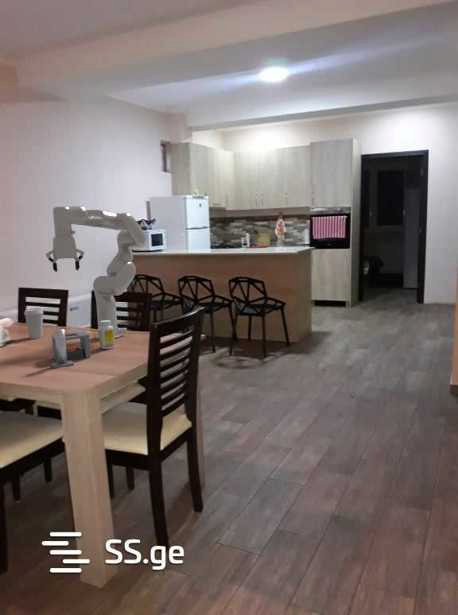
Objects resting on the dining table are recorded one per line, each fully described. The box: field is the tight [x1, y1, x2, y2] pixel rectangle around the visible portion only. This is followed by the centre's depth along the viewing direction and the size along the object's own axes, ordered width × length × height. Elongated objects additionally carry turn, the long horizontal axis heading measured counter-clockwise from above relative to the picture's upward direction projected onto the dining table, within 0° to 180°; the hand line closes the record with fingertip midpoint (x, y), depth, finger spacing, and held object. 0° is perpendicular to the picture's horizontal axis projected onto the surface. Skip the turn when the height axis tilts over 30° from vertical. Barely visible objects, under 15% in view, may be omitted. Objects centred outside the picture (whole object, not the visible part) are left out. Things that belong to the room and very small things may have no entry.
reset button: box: [66, 346, 78, 352], centre depth 219 cm, size 5×5×3 cm
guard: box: [51, 330, 92, 362], centre depth 219 cm, size 14×9×10 cm, turn 119°
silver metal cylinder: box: [54, 328, 68, 364], centre depth 207 cm, size 4×4×14 cm
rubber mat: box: [50, 360, 75, 369], centre depth 208 cm, size 8×6×1 cm
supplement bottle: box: [98, 320, 115, 350], centre depth 234 cm, size 7×7×13 cm
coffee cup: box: [23, 307, 44, 340], centre depth 262 cm, size 10×10×15 cm
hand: (66, 270), depth 235 cm, fingers open, 9 cm apart
